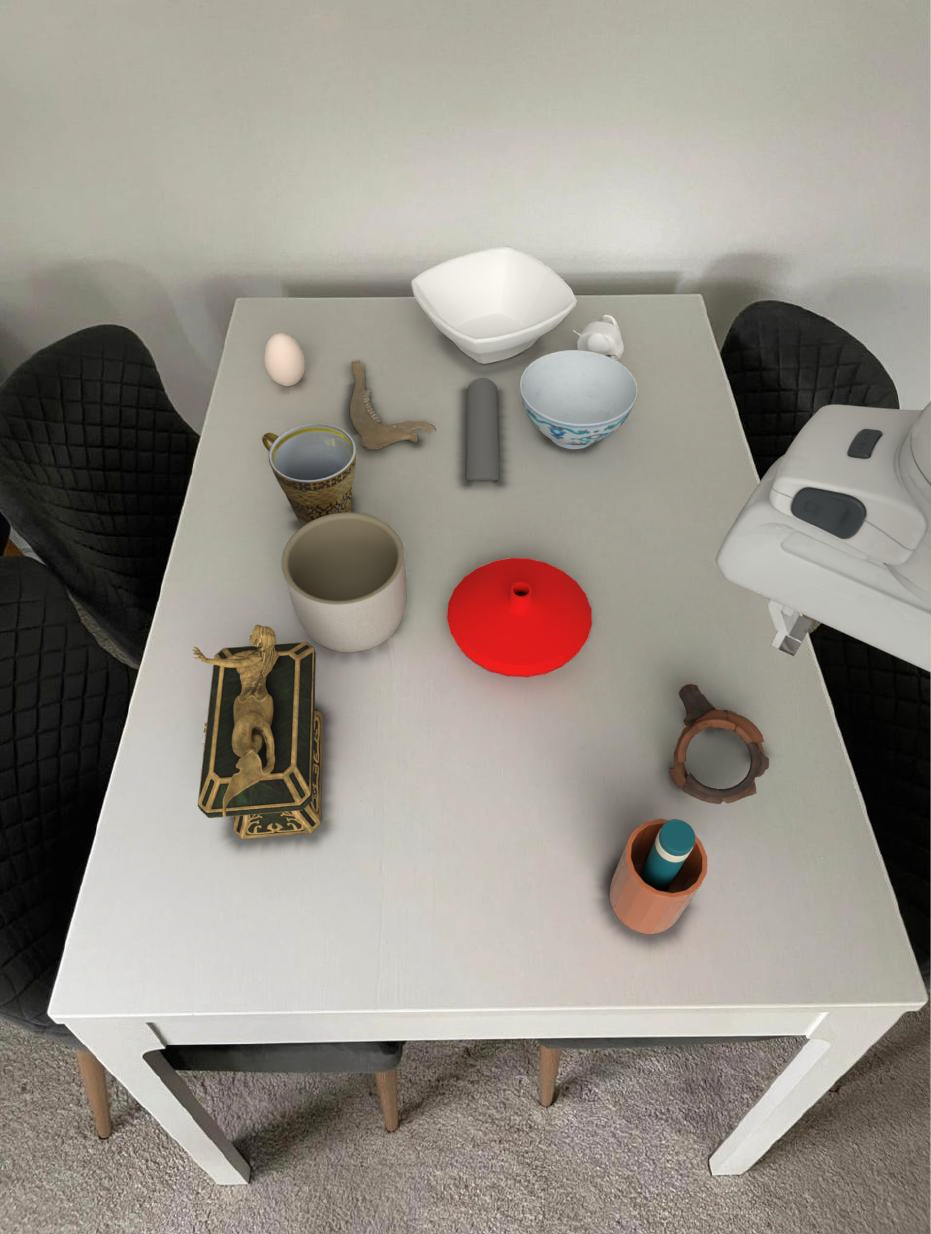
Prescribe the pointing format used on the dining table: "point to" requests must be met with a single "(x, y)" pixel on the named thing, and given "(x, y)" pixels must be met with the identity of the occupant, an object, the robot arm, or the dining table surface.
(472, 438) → the half round rod
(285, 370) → the egg
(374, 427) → the jawbone
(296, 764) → the decorative box
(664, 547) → the dining table surface
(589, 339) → the elephant figurine
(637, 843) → the tumbler
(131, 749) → the dining table surface
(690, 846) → the teal banded tube
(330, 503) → the ceramic cup
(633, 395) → the chinaware
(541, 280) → the bowl
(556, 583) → the red disc with nozzle
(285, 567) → the planter
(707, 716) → the broken brown pottery vessel
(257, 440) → the dining table surface
